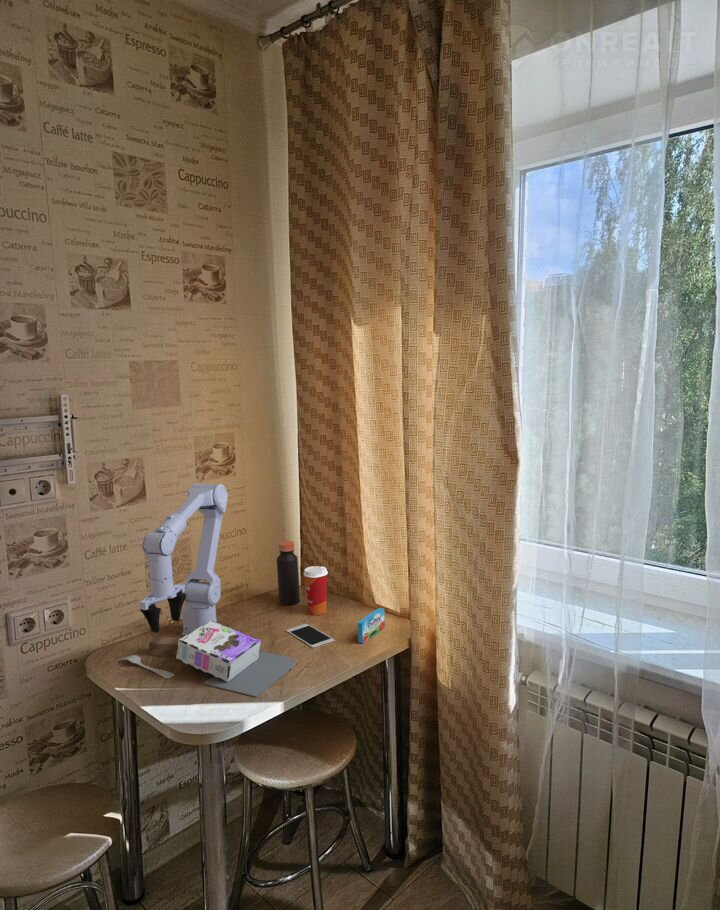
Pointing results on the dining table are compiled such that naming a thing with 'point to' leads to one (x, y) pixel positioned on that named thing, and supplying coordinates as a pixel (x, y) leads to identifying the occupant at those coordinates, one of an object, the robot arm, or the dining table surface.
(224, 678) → the candy box
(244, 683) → the slate mat
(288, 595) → the bottle
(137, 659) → the fork
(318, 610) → the paper cup
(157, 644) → the brown rectangular bar
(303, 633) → the smartphone
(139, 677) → the dining table surface
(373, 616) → the blue fruit print box
